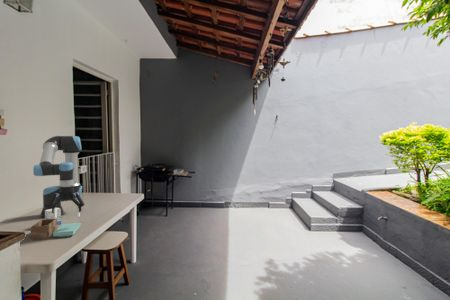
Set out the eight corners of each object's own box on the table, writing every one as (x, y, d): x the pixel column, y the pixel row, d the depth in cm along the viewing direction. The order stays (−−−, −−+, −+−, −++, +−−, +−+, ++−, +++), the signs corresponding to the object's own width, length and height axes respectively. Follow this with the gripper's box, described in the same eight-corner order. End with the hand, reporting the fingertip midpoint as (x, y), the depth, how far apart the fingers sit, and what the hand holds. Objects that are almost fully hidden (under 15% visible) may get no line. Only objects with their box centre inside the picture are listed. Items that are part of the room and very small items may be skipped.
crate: (41, 231, 160) (41, 219, 159) (57, 230, 162) (56, 218, 162) (30, 239, 146) (30, 227, 146) (47, 238, 148) (47, 226, 148)
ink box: (59, 222, 176) (58, 207, 175) (61, 224, 173) (61, 208, 172) (44, 226, 169) (44, 209, 168) (47, 227, 166) (46, 211, 165)
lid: (62, 229, 163) (62, 224, 163) (80, 228, 166) (80, 222, 166) (53, 238, 149) (53, 232, 148) (73, 237, 152) (73, 231, 151)
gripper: (41, 187, 149) (42, 220, 150) (86, 186, 156) (86, 217, 157) (47, 185, 156) (48, 216, 158) (89, 184, 163) (89, 214, 164)
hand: (67, 217), depth 157 cm, fingers open, 13 cm apart
